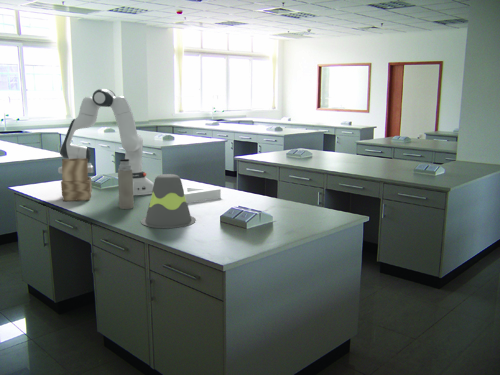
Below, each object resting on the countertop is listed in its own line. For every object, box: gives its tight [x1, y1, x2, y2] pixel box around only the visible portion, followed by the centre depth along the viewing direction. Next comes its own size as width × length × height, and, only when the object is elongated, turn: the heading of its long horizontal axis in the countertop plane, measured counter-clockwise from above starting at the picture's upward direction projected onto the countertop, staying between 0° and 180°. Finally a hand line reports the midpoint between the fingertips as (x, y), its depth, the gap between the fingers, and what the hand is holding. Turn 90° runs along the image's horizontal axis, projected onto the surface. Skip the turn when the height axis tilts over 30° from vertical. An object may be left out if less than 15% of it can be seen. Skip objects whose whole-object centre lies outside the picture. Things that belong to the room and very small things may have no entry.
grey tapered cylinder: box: [140, 173, 197, 229], centre depth 226 cm, size 28×28×24 cm
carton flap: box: [61, 158, 89, 182], centre depth 268 cm, size 14×14×1 cm
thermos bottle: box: [117, 158, 135, 210], centre depth 253 cm, size 8×8×28 cm
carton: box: [60, 176, 93, 202], centre depth 275 cm, size 16×14×12 cm
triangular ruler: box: [182, 185, 222, 204], centre depth 283 cm, size 30×26×6 cm
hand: (74, 171), depth 269 cm, fingers closed, pressing on carton flap
